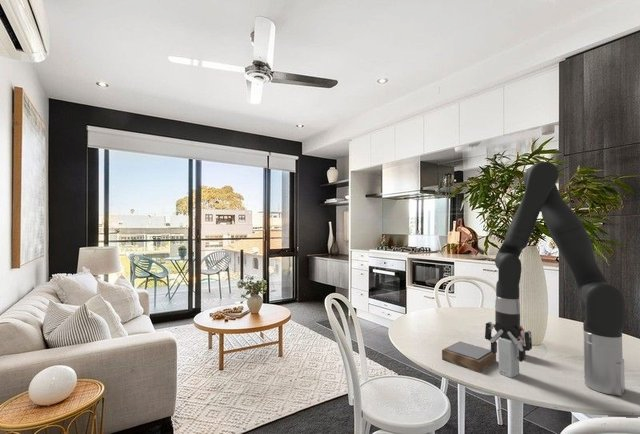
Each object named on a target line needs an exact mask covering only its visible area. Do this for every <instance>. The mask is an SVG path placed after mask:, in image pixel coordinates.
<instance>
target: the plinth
mask: <svg viewBox="0 0 640 434" xmlns="http://www.w3.org/2000/svg"><path fill="white" fill-rule="evenodd" d="M441 360H443V361H445V362H449V363H451V364H454V365H458V366H460V367H463V368H466V369H469V370H472V371H474V372H478V373H481V371H484V370H485V369H486V368H488V367H490V366H491V365H493V364H494V363H496V362H497V353H495V354H494V353H492V351H491V349H489V348H485V347H482V346H478V345H474V344H472V343H467V342H464V341H458V342H455V343H453V344H451V345H450V346H447V347H445V348H443V349H442V350H441Z"/></svg>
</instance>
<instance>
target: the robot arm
mask: <svg viewBox="0 0 640 434" xmlns="http://www.w3.org/2000/svg"><path fill="white" fill-rule="evenodd" d="M559 177H560V170H559V168H558V167H557V166H556V165H555V164H554V163H552V162H549V161H539V162H537V163H534V164H533V165H531V166H529V168H528V169H526V170H525V172H524V174H523V180H522V181H523V183H524V186H525V190H524V194H523V197H522V199H521V201H520V204H519V205H518V208H517V209H516V212H515V214H514V215H513V217H512V219H511V221H510V224H509V225H508V229H507V231H506V235H505V237H504V240H503V242H502V244H500V248H499V249H498V250H497V253H496V255H495V259H494V264H495V267H496V268H497V269H498V275H497V277H498V280H497V281H496V287H495V293H496V294H495V301H494V303H495V304H494V309H495V312H494V313H495V314H494V315H495V316H494V317H495V318H494V319H495V320H494V322H495V323H492V321H488V322H487V323H485V329H484V330H485V331H484V339H485V340H487V341H489V342H490V350H491V351H492V353H494V354H495V353H496V354H497V353H498V338H505V339H509V340H513V342H514V343H515V345H517V347H518V348H519V349H520V350H519V363H522V362H524V361H525V360H526V351H527V352H528V351H529V352H530V351H531V350H532V349H533V341H532V332H531V331H530V330H527V331H526V330H524V331H521V329H520V324H521V302H520V283H521V282H520V281H521V277H522V275H521V274H522V267H523V266H522V262H521V259H520V256H521V253H522V252H523V250H524V249H526V248H527V246H528V244H529V241H530V238H531V236H532V234H533V232H534V228H535V226H536V223H537V221H538V217H539V215H540V213H541V215H542V217H543V220H544V222H545V224H546V226H547V229H548V232H549V234H550V236H551V238H552V240H553V242H554V243H555V246H556V247H557V249H558V252H560V255H561V256H562V258H563V260H564V261H565V263H566V264H567V266H568V267H569V269H570V272H571V273H572V276H573V279H574V280H575V283H576V287H577V290H578V292H579V296H580V297H581V299H582V301H583V302H584V303H585V320H584V321H583V327H582V328H583V330H582V331H583V364H584V365H583V370H584V371H583V373H584V376H583V377H584V385H585V386H586V387H588V388H589V389H592V390H594V391H596V392H599V393H603V394H607V395H613V396H618V397H622V396H623V394H624V393H625V390H626V387H625V386H626V385H625V384H626V383H625V380H626V377H625V359H624V358H623V357H624V356H623V354H624V353H623V330H624V327H625V319H626V318H625V317H626V315H625V311H626V306H625V304H626V303H625V297H624V294H623V293H622V291H621V290H620V289H619V288H617V287H616V286H614V285H612V284H611V283H609V282H608V280H607V279H606V277H605V276H604V275H603V273H602V271H601V270H600V268H599V265H598V263H597V261H596V257H595V252H594V248H593V244H592V243H593V242H592V241H591V238H590V236H589V234H588V232H587V229H586V228H585V225H584V223H582V221H581V219H580V218H579V217H578V215H577V214H576V212H574V210H573V209H572V208H571V207H570V206H569V205H568V204H567V203H566V202H565V200H564V199H563V197H562V196H561V194H560V191H559V189H558V186H557V182H558V181H559ZM493 329H495V330H494V331H496V333H495V334H494V335H493V336H492V331H493ZM521 334H522V335H523V337H524V341H525V345H524V344H523V342H522V340H521V338H520V337H519V336H520V335H521Z"/></svg>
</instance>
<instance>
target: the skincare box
mask: <svg viewBox="0 0 640 434" xmlns="http://www.w3.org/2000/svg"><path fill="white" fill-rule="evenodd" d="M497 350H498V374H500V375H503V376H504V377H507V378H514V377H517V376H518V375H520V361H519V349H518V347H517V345H515V343H514V342H513V340H509V339H505V338H501V337H500V338H498V339H497Z"/></svg>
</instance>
